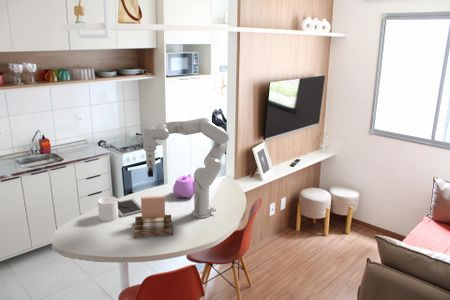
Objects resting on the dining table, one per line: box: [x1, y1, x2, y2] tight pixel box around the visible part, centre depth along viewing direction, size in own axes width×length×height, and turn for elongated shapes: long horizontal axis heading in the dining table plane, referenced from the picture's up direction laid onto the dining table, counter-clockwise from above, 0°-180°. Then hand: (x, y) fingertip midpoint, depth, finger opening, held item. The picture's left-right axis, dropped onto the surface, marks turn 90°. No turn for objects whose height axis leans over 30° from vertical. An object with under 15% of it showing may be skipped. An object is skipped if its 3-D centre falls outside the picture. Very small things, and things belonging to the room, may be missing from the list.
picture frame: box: [117, 198, 142, 218], centre depth 262 cm, size 16×3×21 cm
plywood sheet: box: [140, 195, 166, 220], centre depth 240 cm, size 14×2×18 cm, turn 100°
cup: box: [97, 195, 119, 222], centre depth 248 cm, size 12×12×12 cm
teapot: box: [172, 173, 194, 200], centre depth 284 cm, size 20×20×15 cm
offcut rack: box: [133, 214, 174, 238], centre depth 237 cm, size 22×18×4 cm
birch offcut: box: [143, 218, 164, 223], centre depth 237 cm, size 12×4×6 cm, turn 101°
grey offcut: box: [143, 222, 164, 230], centre depth 231 cm, size 12×4×6 cm, turn 98°
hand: (150, 173), depth 241 cm, fingers open, 9 cm apart
